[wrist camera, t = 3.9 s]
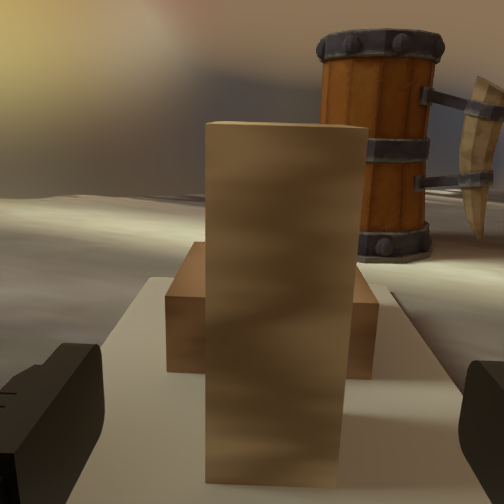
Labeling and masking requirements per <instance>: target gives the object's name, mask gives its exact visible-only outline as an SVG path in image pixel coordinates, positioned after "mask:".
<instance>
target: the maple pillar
mask: <svg viewBox="0 0 504 504" xmlns="http://www.w3.org/2000/svg"><path fill="white" fill-rule="evenodd" d="M368 132H369V128H363V127H356V126H348V125H333V124H298V123H262V122H229V121H218V122H212V123H206V226H205V483H210V484H234V485H258V486H283V487H307V488H331V489H336V482H337V471H338V460H339V449H340V438H341V427H342V416H343V405H344V394H345V384H346V373H347V362H348V351H349V340H350V329H351V318H352V307H353V296H354V285H355V274H356V263H357V252H358V241H359V231H360V220H361V209H362V198H363V187H364V176H365V165H366V154H367V143H368Z"/></svg>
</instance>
